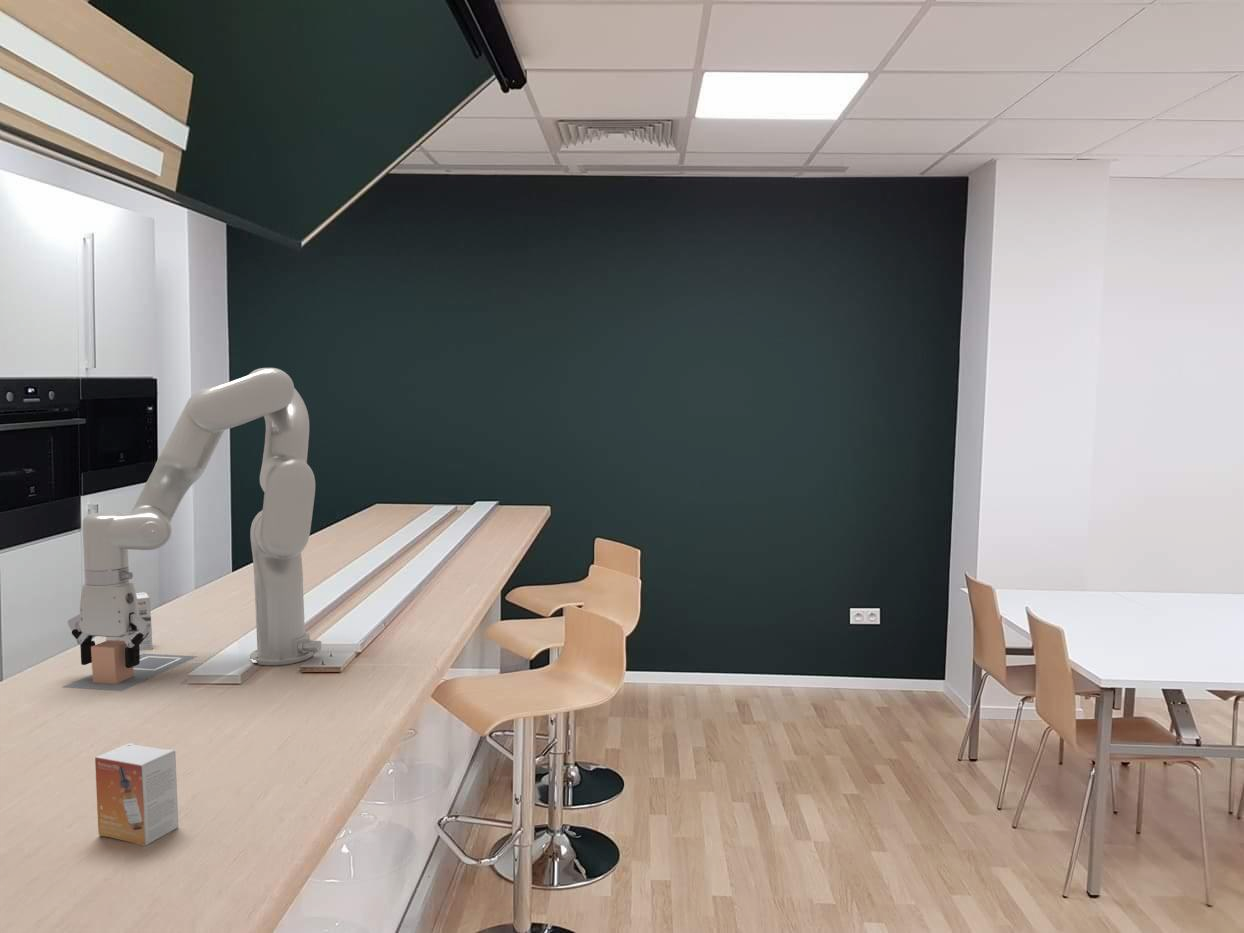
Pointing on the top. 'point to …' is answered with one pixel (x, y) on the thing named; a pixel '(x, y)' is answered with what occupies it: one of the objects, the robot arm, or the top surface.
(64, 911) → the top surface
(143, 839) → the small box
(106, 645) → the block
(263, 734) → the top surface
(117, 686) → the mat
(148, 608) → the ink box
